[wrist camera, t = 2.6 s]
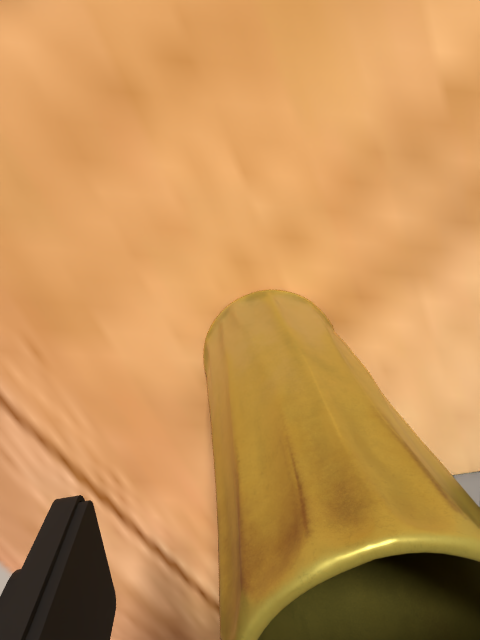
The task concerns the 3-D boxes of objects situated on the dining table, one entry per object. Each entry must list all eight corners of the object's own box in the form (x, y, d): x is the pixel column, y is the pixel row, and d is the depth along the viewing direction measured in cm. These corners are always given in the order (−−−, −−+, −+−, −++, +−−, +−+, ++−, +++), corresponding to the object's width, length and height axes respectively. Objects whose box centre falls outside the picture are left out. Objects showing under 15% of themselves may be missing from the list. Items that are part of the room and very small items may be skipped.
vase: (308, 427, 21) (490, 842, 8) (187, 395, 20) (141, 801, 7) (354, 310, 20) (682, 561, 6) (225, 271, 19) (271, 461, 5)
